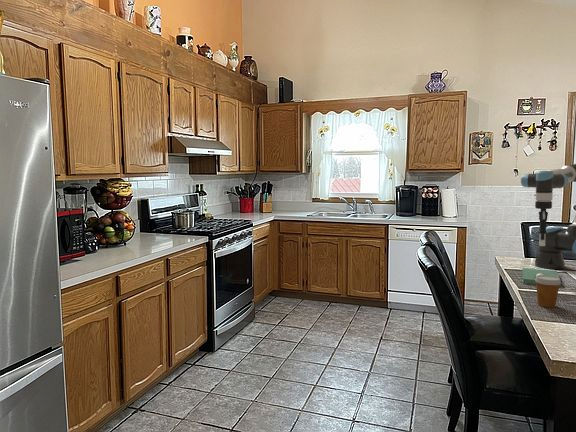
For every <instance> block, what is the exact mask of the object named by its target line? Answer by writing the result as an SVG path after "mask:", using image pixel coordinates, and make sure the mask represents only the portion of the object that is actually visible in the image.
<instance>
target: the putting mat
mask: <svg viewBox="0 0 576 432" xmlns="http://www.w3.org/2000/svg"><path fill="white" fill-rule="evenodd" d="M521 272H522V283H523V285H531V286H536V281H535V279H536V275H537V274H539V273H541V274H543V275H548V276H555V277H558V278H560V276H559V274H558V271H557V270H555V269H539V268H527V267H522V271H521ZM561 287H562V282H561V283H560V285H559V288H561Z"/></svg>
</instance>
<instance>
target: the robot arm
mask: <svg viewBox="0 0 576 432" xmlns="http://www.w3.org/2000/svg"><path fill="white" fill-rule="evenodd" d="M571 182H572V183H576V163H573V164H568V165H564V166H563V167H561V168H558V169H552V170H538V171H537V172H535V173H524V174H522V176H521V177H520V183H521V186H522V187H524V188H533V189H534V188H535V194H534V197H535V204H534V205H535V206H534V207H535V209H538V210H540V211H538V221H539V231H538V234H539V235H538V237H539V238H538V239H539V240H538V241H539V243H538V254H537V256H536V258H535V260H534V266H536V267H538V268H543V269H548V270H561V269H562V270H563V269H565V267H566V262H565V260H564V257H563V251H564V252H569V253H575V254H576V214H575V216H574V218H573V221H572V223H571V224H569V225H568V226H567V228H566V229H564V227H562V226H547V221H548V216H549V212H548V211H547V210H550V209H552V208H553V196H554V195H553V193H554V192H553V189H562V188H565V187H566V186H567V185H568V184H569V183H571Z"/></svg>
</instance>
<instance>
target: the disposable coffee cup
mask: <svg viewBox="0 0 576 432" xmlns="http://www.w3.org/2000/svg"><path fill="white" fill-rule="evenodd" d="M535 281H536V285H535V286H536V296H537V305H538V306H539V307H542V306H544V307H543V308H549V307H551V308H555V307H556V305H557V299H558V296H559V295H558V294H559V289H560V287H559V285H560V283H561V284H562V280H561V279H560V277H559V278H558V277H555V276H548V275H538V276H536V279H535Z"/></svg>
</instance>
